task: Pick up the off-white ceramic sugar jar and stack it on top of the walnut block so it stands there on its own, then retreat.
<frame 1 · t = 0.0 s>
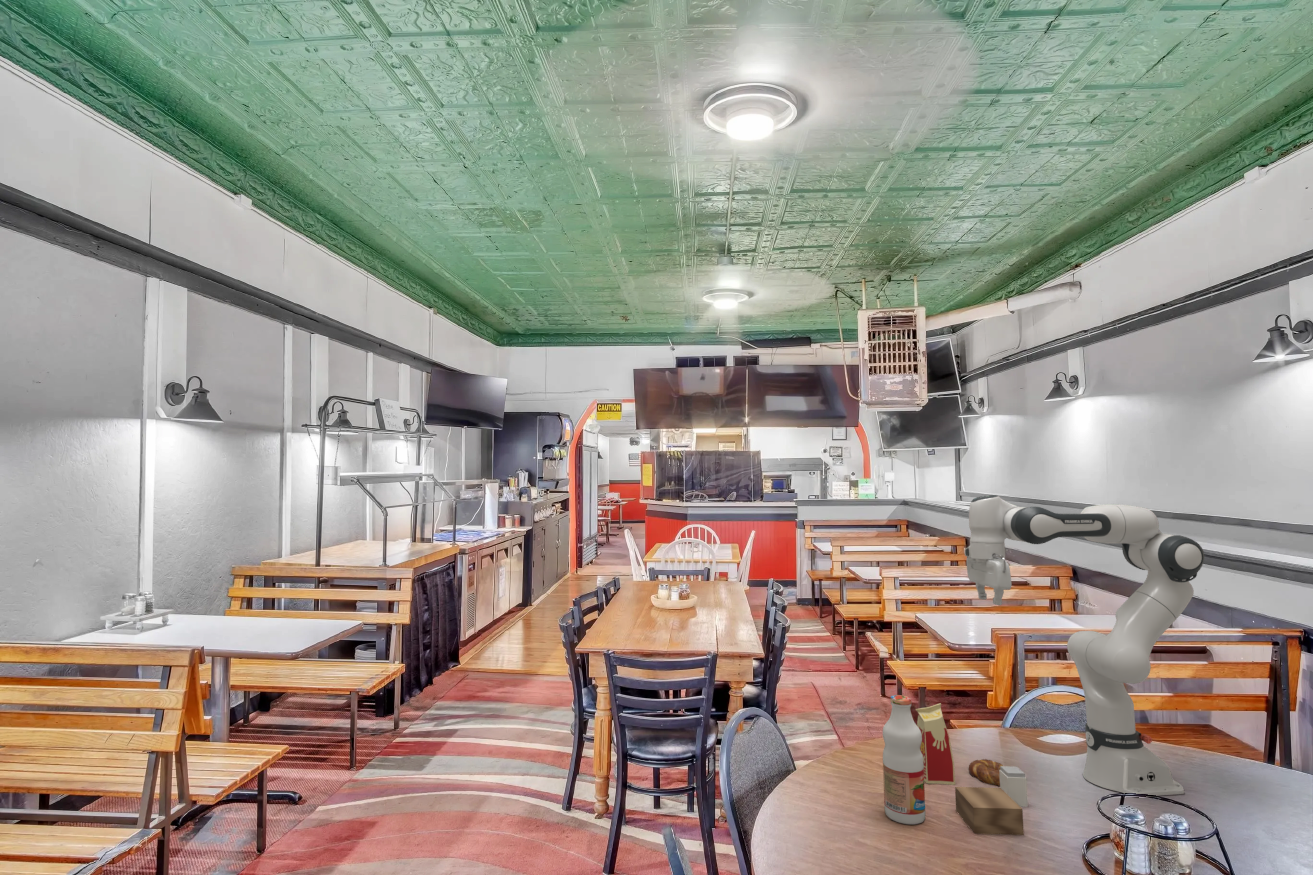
hand: (989, 601, 184), 48 cm above the table, fingers open, 8 cm apart
fruit juice: (904, 816, 159), on the table
milk carton: (934, 778, 181), on the table
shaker: (1014, 802, 166), on the table
block: (988, 823, 156), on the table
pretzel: (992, 779, 181), on the table
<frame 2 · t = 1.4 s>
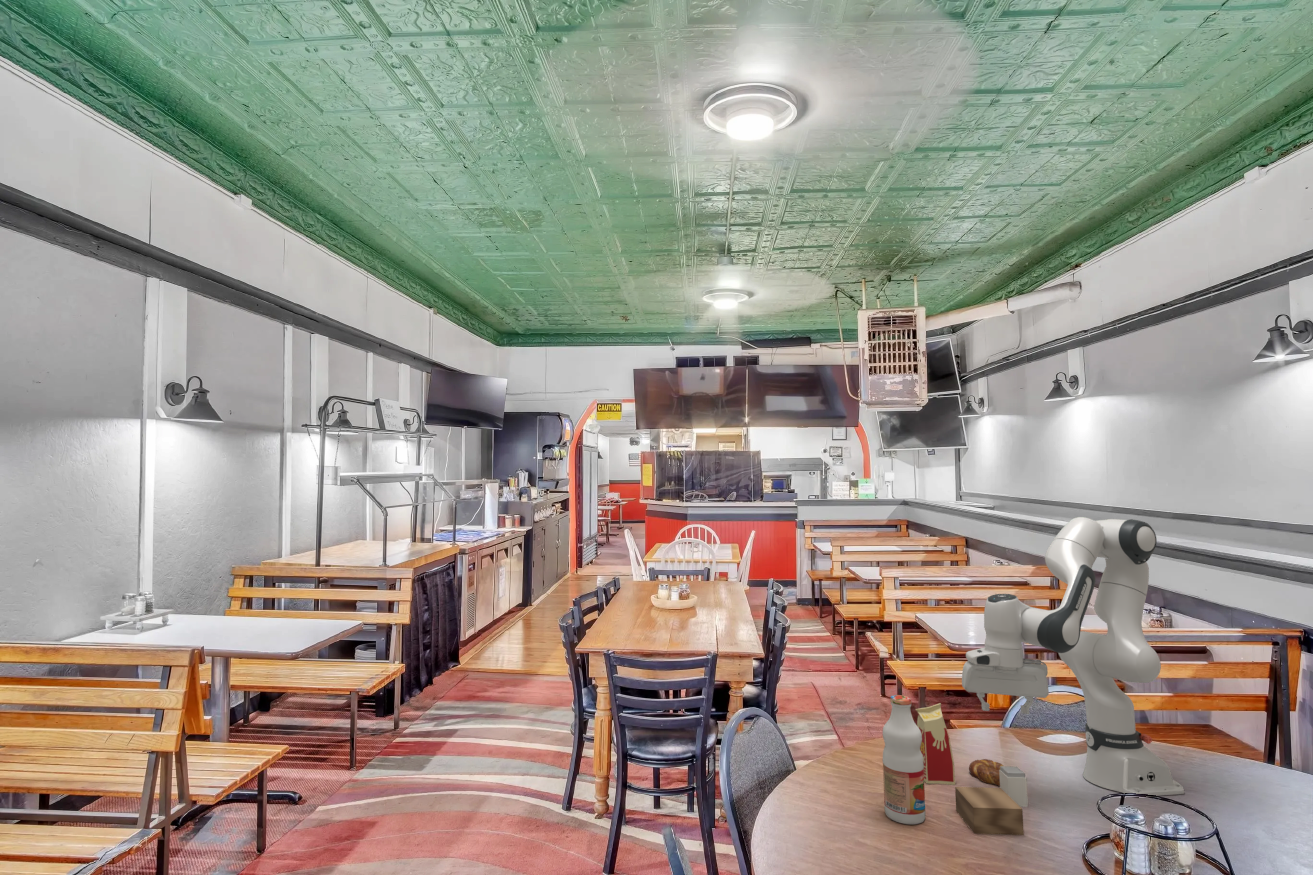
hand: (1005, 711, 170), 22 cm above the table, fingers open, 8 cm apart
nothing on the table moved.
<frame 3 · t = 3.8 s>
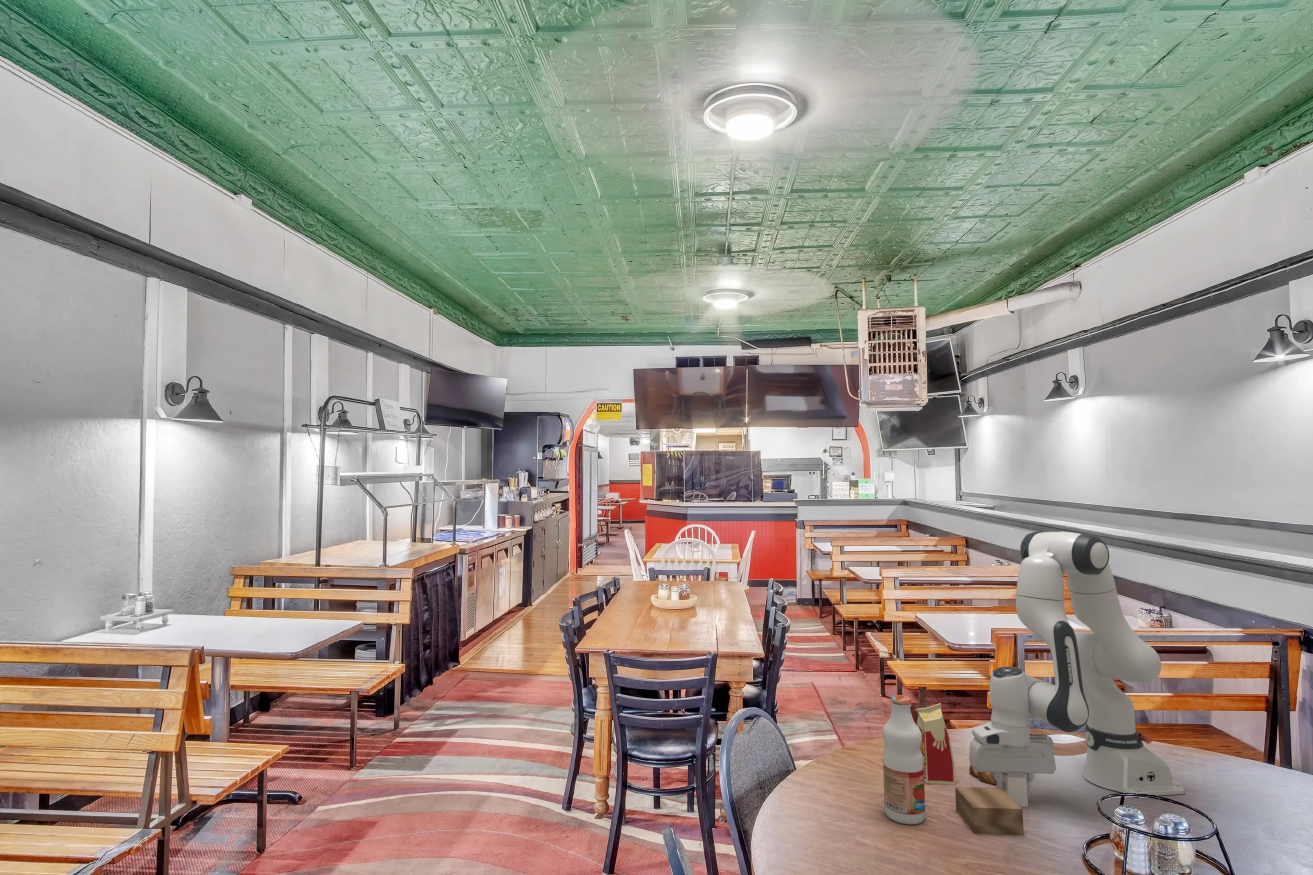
hand: (1013, 789, 166), 3 cm above the table, fingers closed on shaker, 5 cm apart
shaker: (1014, 802, 166), on the table, touching gripper
everything else where it was.
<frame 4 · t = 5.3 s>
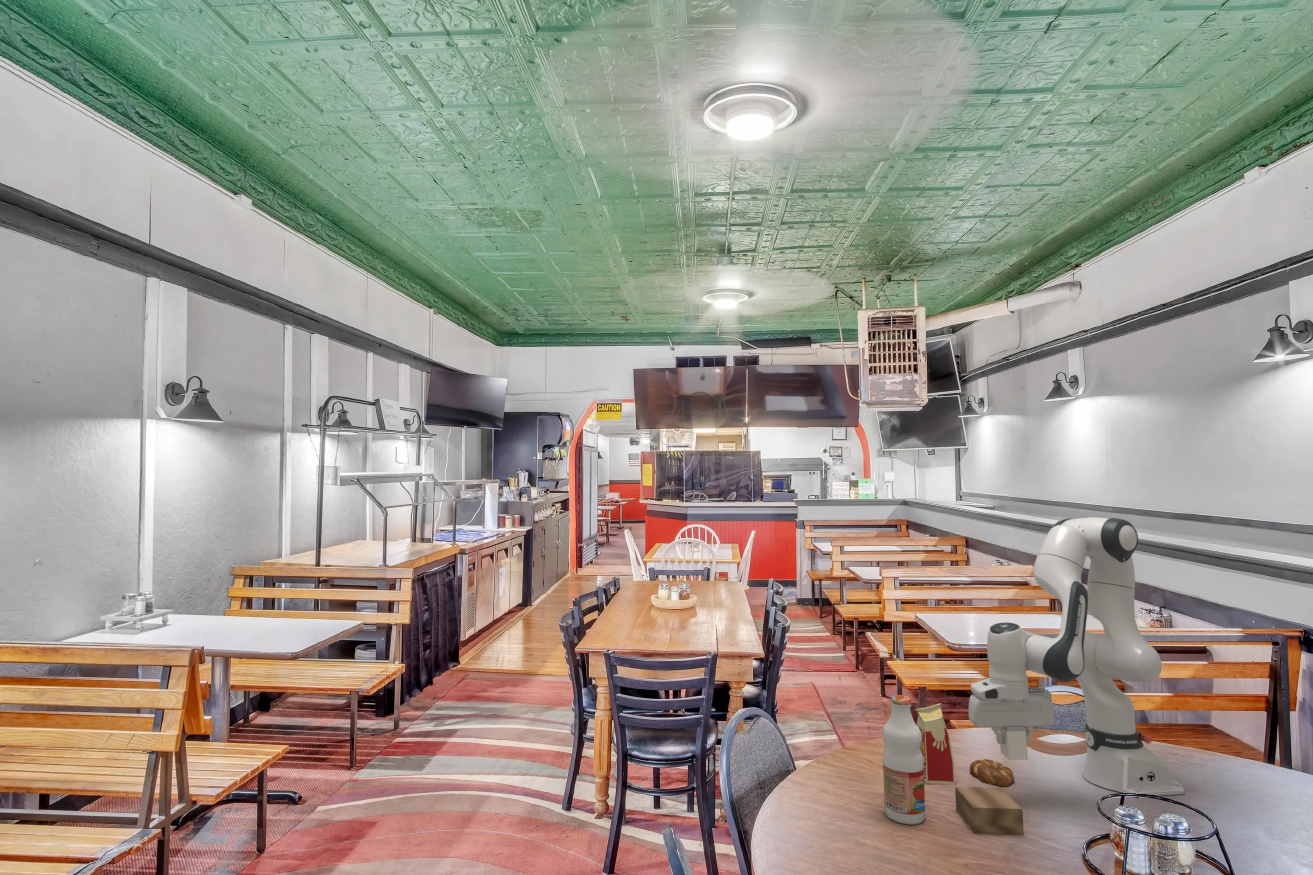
hand: (1013, 743, 168), 14 cm above the table, fingers closed on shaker, 5 cm apart
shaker: (1014, 755, 167), point 11 cm above the table, touching gripper
everything else where it was.
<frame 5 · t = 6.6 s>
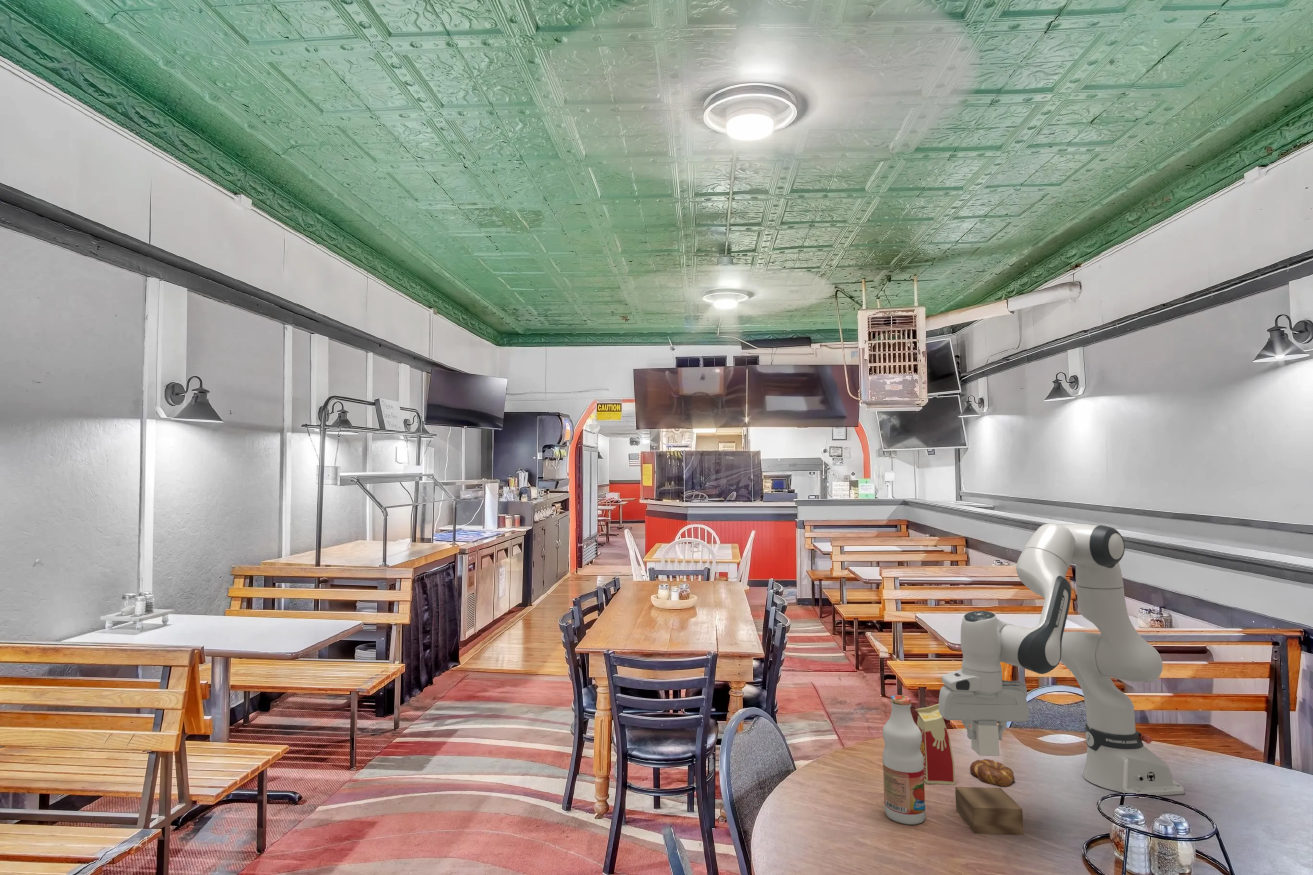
hand: (984, 738, 158), 19 cm above the table, fingers closed on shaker, 5 cm apart
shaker: (985, 752, 157), point 16 cm above the table, touching gripper
everything else where it was.
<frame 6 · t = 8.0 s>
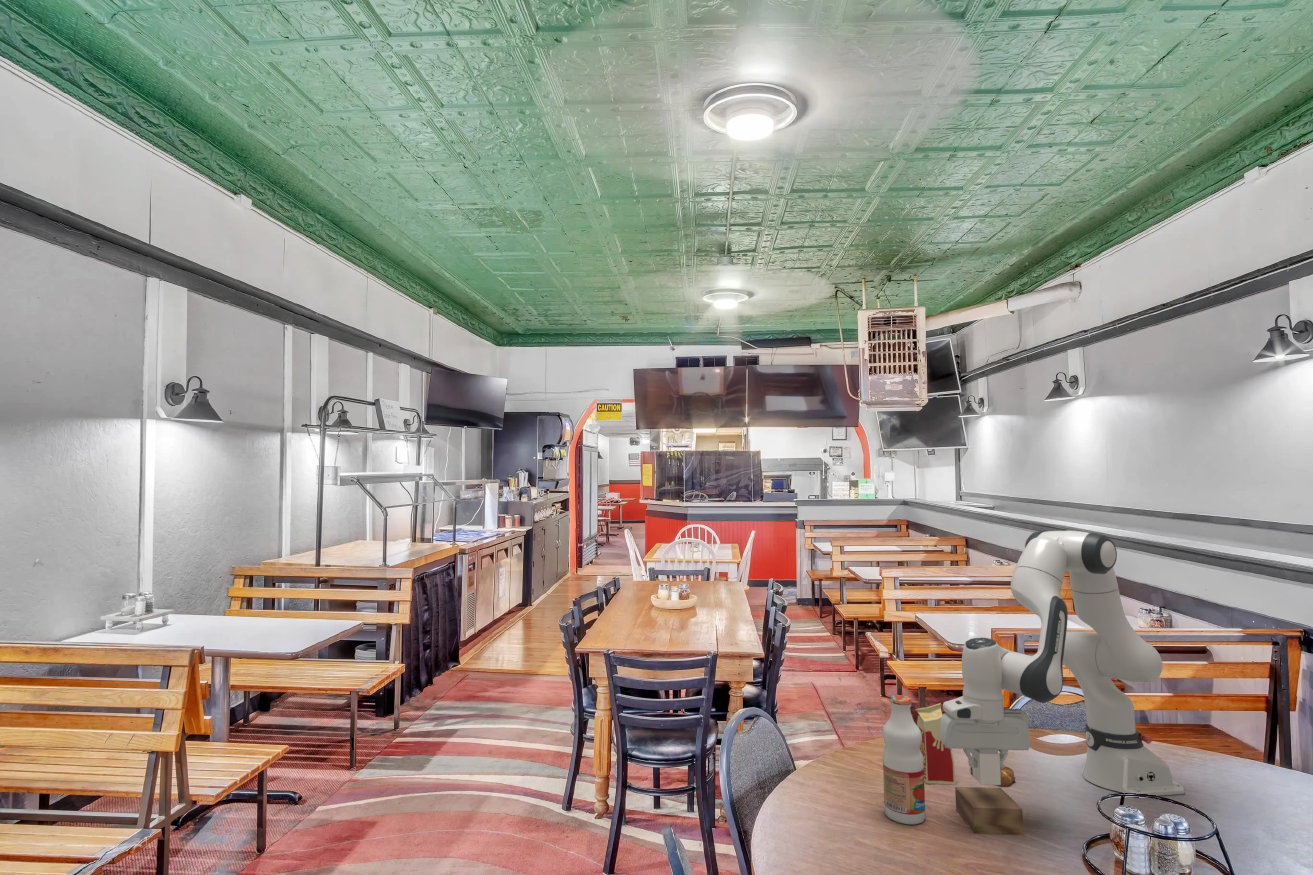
hand: (985, 767, 157), 13 cm above the table, fingers closed on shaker, 5 cm apart
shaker: (986, 780, 157), point 10 cm above the table, touching gripper
everything else where it was.
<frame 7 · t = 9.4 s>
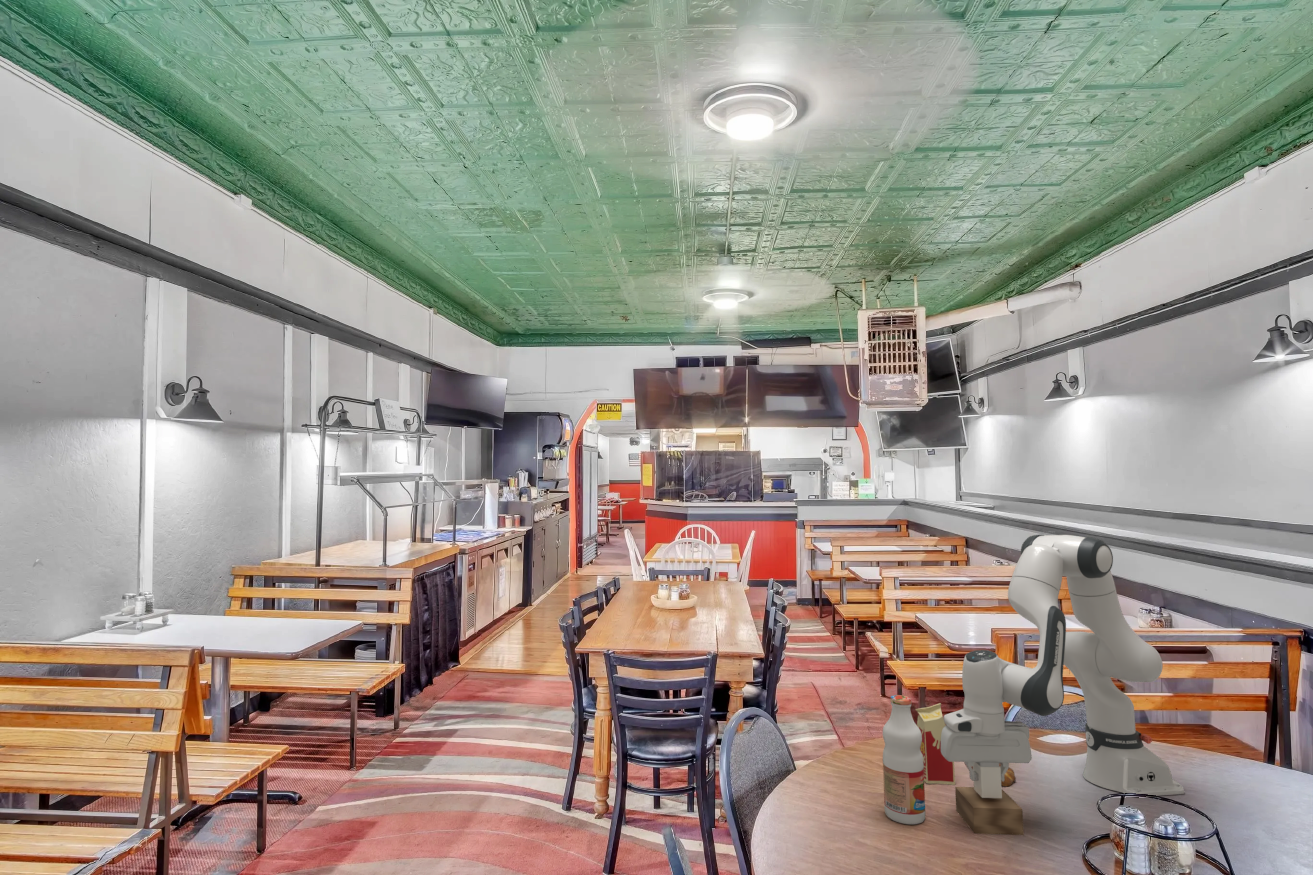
hand: (986, 780, 157), 10 cm above the table, fingers closed on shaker, 4 cm apart
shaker: (987, 793, 157), point 7 cm above the table, touching gripper
everything else where it was.
when the fingers open (10 cm above the table, at t = 9.5 s): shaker moves 1 cm, resting on block.
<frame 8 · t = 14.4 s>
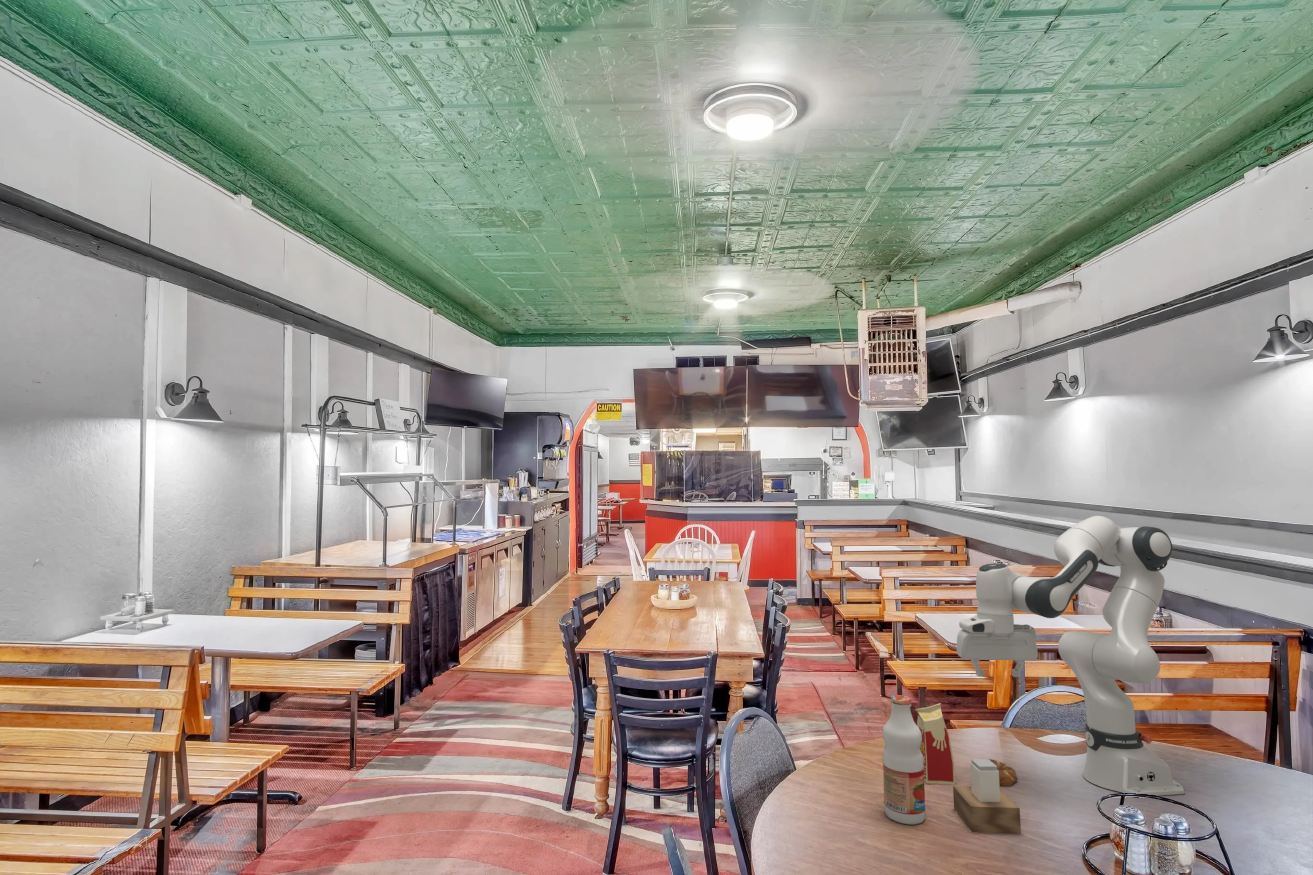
hand: (998, 676, 177), 29 cm above the table, fingers open, 8 cm apart
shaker: (985, 797, 156), point 6 cm above the table, touching block
block: (986, 822, 156), on the table, touching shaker
at the end: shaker inside the target area on the block (0.5 cm from its centre), point 6.0 cm above the block's base; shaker tilted 1°; the gripper is holding nothing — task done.
